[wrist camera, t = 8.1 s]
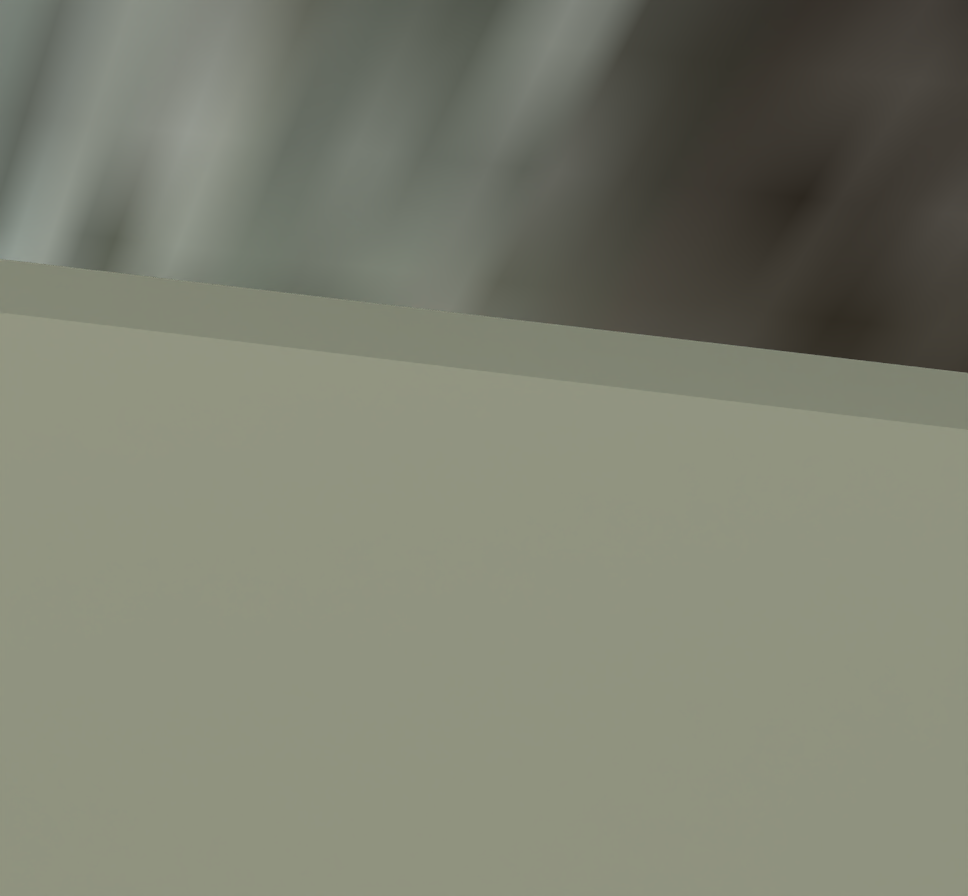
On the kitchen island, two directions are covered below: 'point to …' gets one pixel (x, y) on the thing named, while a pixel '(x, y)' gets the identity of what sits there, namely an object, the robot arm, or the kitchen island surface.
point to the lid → (468, 605)
